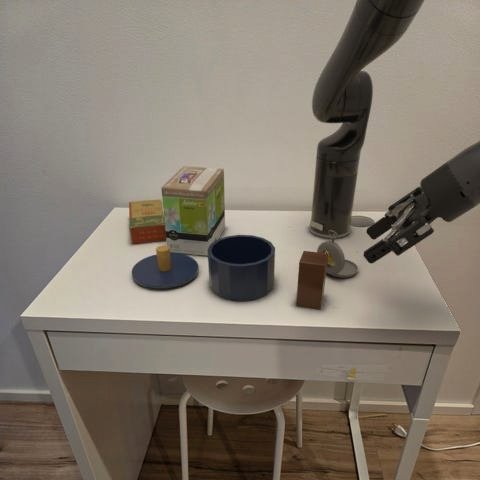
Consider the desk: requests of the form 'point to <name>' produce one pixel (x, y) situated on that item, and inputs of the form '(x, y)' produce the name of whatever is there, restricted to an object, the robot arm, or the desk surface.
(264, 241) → the tin
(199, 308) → the desk surface
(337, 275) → the pocket watch
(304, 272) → the block
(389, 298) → the desk surface
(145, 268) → the tin lid
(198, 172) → the tea box
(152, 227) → the carton
